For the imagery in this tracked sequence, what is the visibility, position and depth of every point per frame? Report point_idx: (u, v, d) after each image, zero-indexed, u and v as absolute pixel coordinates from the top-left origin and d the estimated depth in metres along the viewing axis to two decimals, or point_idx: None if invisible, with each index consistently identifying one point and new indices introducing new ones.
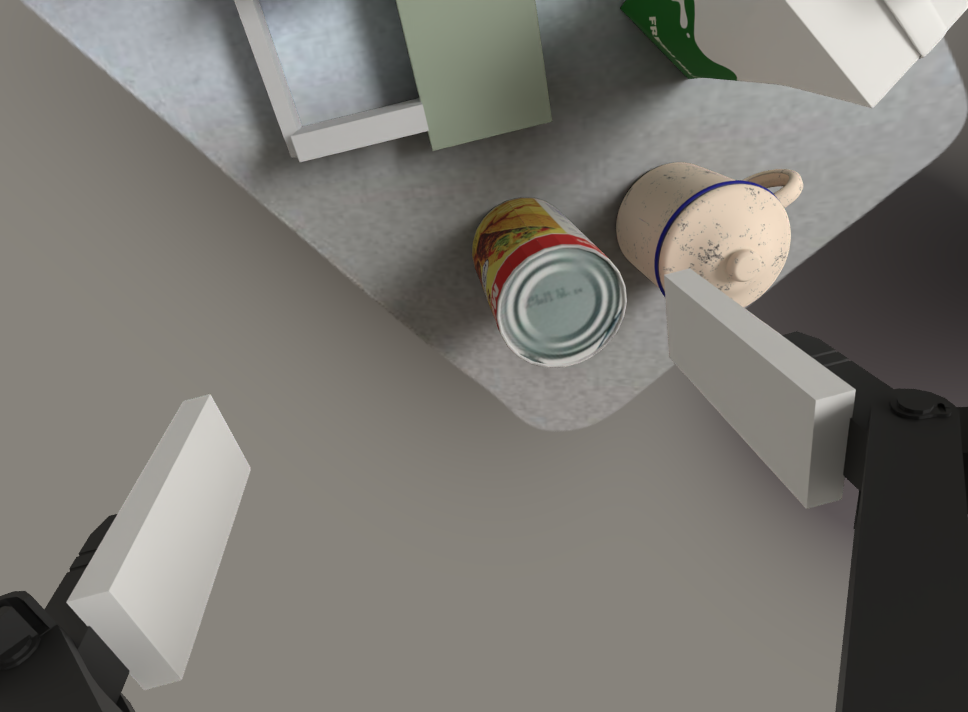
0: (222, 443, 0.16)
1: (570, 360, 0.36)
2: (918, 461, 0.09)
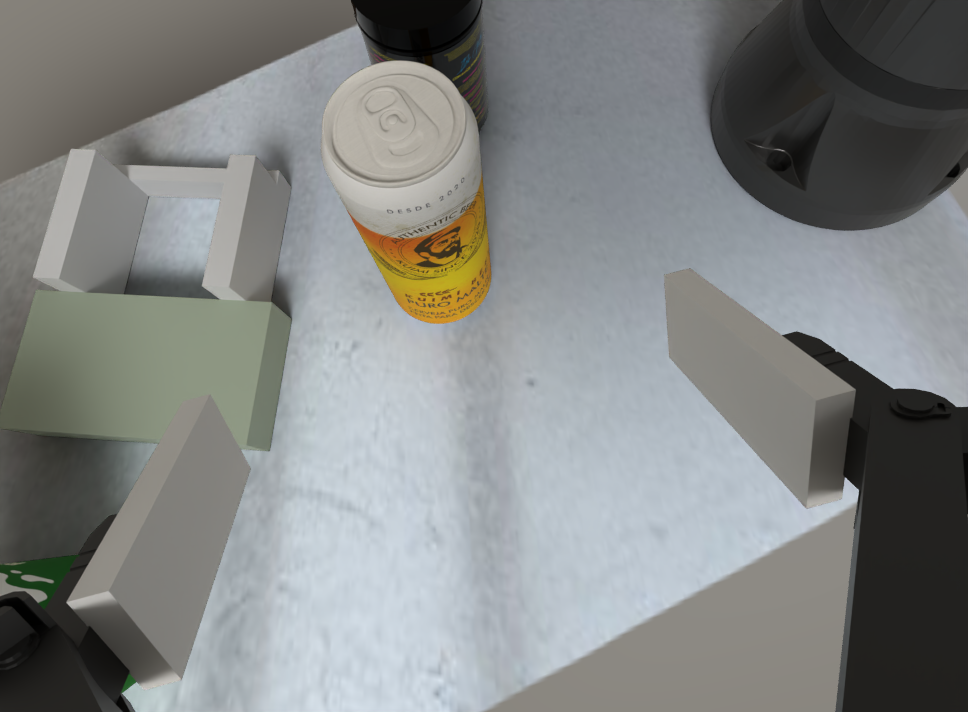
0: (222, 443, 0.16)
1: None
2: (918, 461, 0.09)
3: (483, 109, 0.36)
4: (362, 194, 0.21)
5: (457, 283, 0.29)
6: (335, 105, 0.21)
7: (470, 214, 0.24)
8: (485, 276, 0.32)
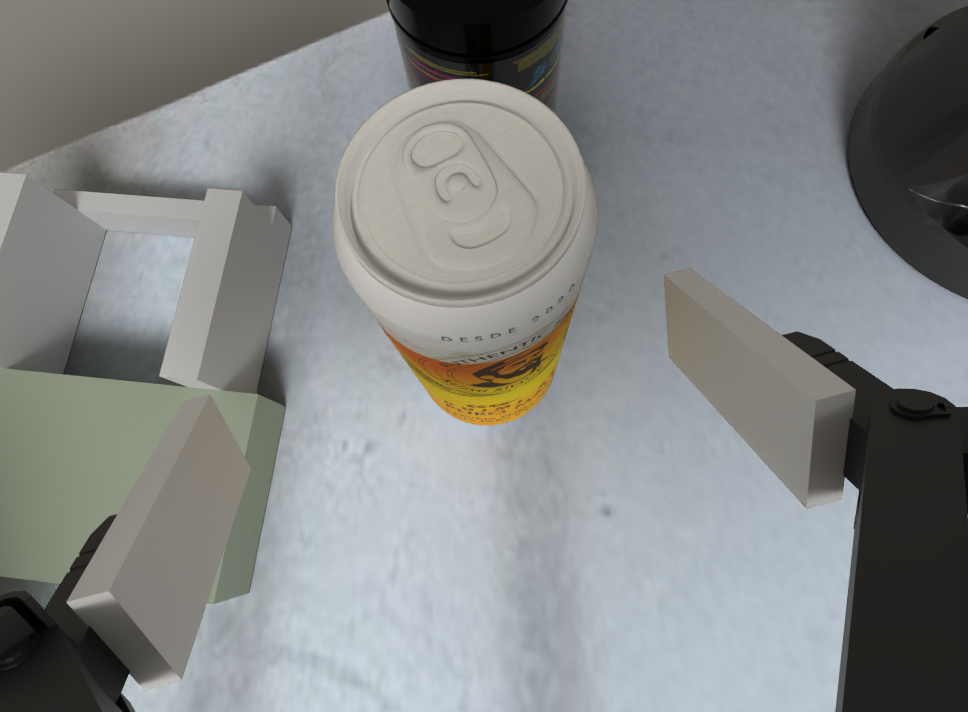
0: (222, 443, 0.16)
1: None
2: (918, 461, 0.09)
3: None
4: (401, 311, 0.12)
5: (522, 394, 0.20)
6: (358, 152, 0.13)
7: (565, 322, 0.15)
8: (554, 371, 0.23)
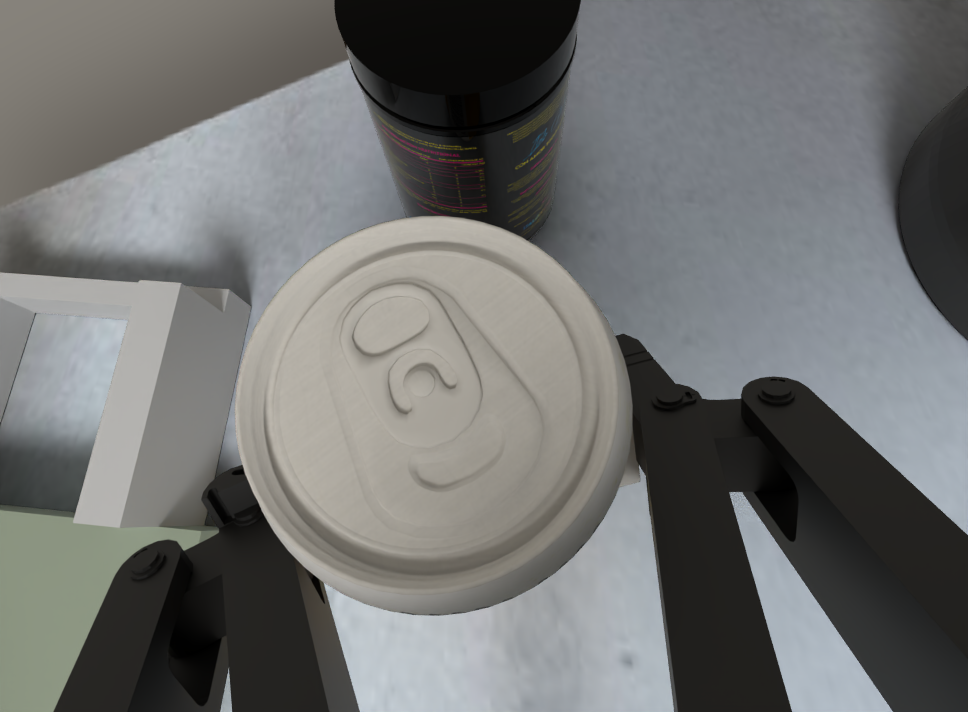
0: None
1: None
2: (682, 446, 0.10)
3: (550, 197, 0.23)
4: (337, 581, 0.08)
5: None
6: (276, 328, 0.08)
7: None
8: None
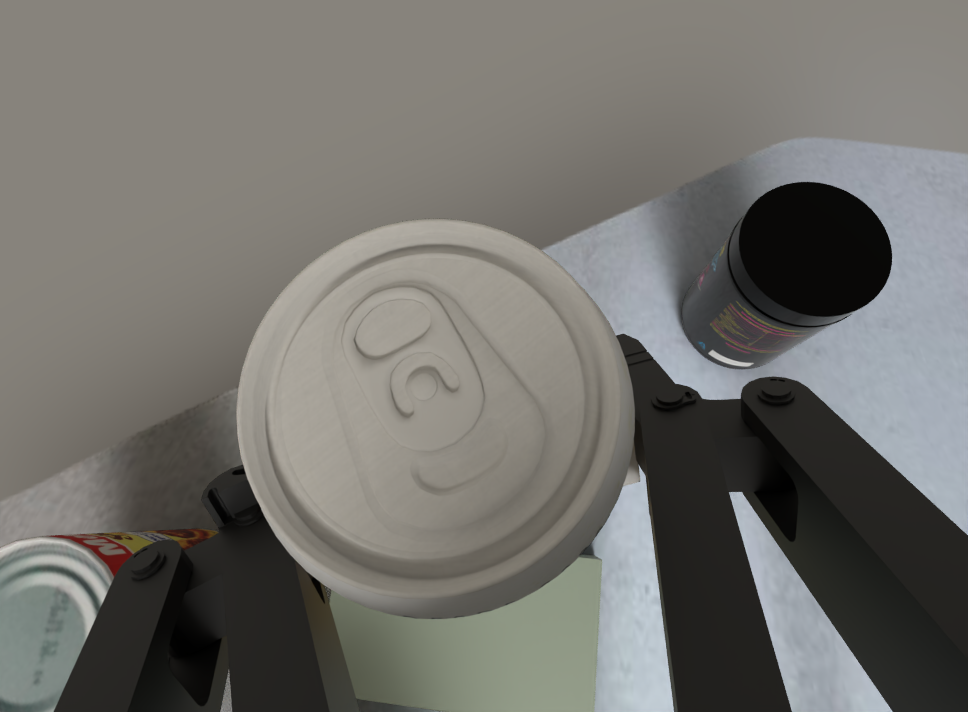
0: None
1: None
2: (682, 446, 0.10)
3: None
4: (339, 585, 0.08)
5: None
6: (277, 332, 0.08)
7: None
8: None
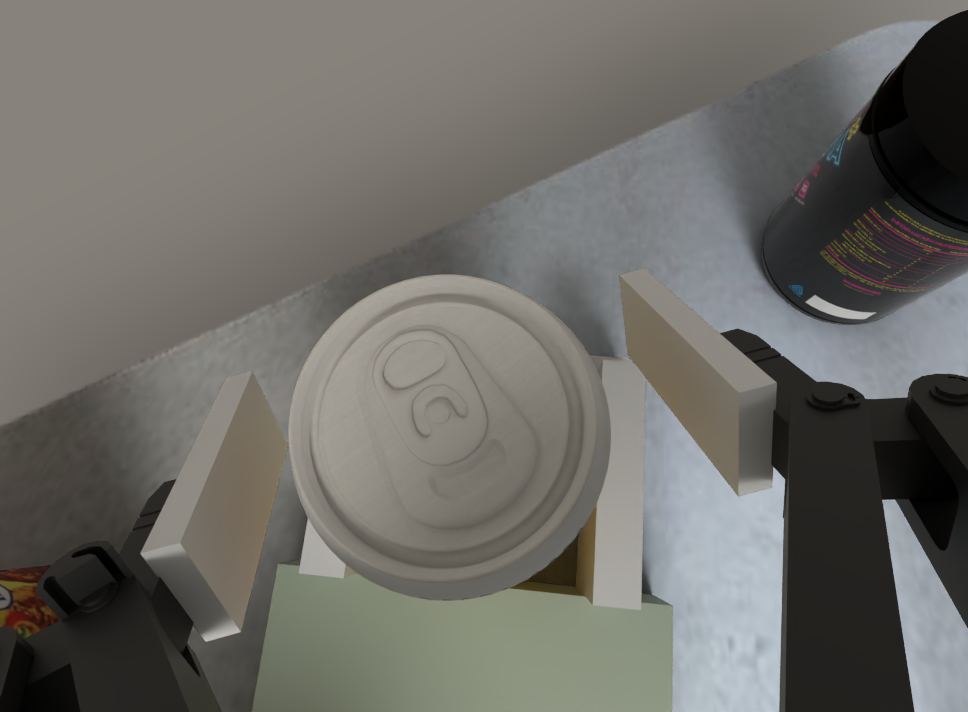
0: (264, 418, 0.16)
1: None
2: (835, 450, 0.09)
3: None
4: (369, 572, 0.10)
5: None
6: (320, 365, 0.10)
7: None
8: None
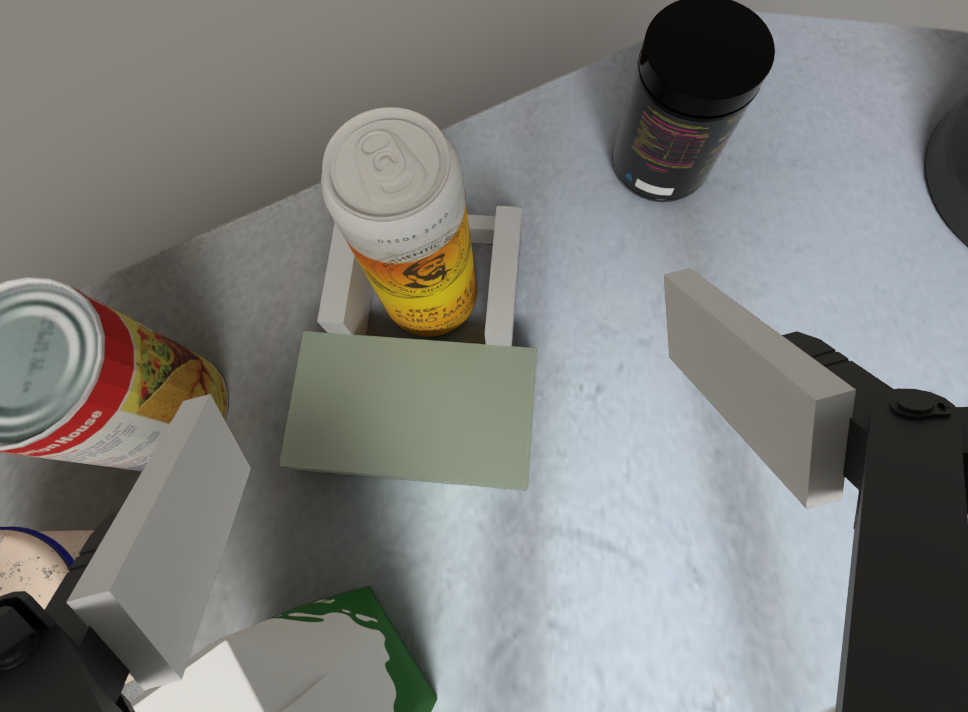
0: (222, 443, 0.16)
1: None
2: (918, 461, 0.09)
3: None
4: (356, 225, 0.24)
5: (443, 301, 0.32)
6: (335, 145, 0.24)
7: (454, 242, 0.27)
8: (470, 294, 0.34)
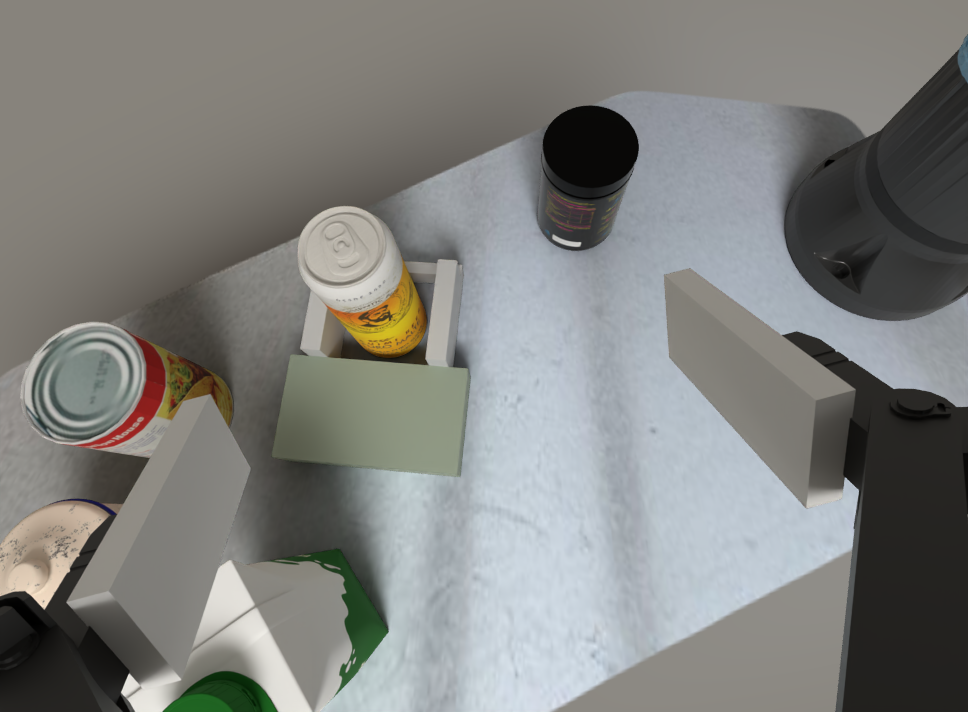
0: (222, 443, 0.16)
1: (30, 377, 0.36)
2: (918, 461, 0.09)
3: (614, 220, 0.48)
4: (321, 290, 0.34)
5: (393, 334, 0.42)
6: (306, 232, 0.35)
7: (395, 296, 0.37)
8: (418, 327, 0.45)
